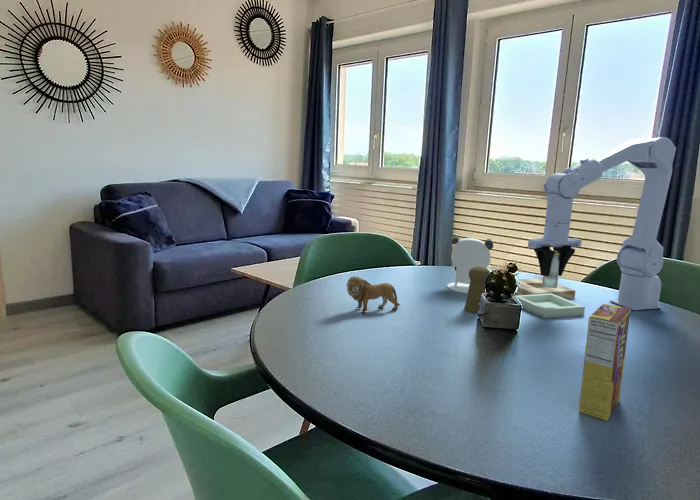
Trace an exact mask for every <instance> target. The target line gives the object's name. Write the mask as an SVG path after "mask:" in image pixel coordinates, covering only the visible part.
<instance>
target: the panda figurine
mask: <svg viewBox="0 0 700 500" xmlns="http://www.w3.org/2000/svg"><path fill="white" fill-rule="evenodd" d="M451 244H452V245H453V248H452V250H451V256H450V257H451V263H452V264H453V266H454V271H455V280H454V282H449V283H448V284H447V285H446V287H447V289H448V290H450V291H452V292H456V293H461V294H462V293H463V294H468V289H469V285H470V278H469V271H470V269H471V268H473V267H483V268H486V269H488V266H489V265H490V263H491V260H492V259H491V258H492V257H491V252H490V250H492V249H493V248H494V242H493V240H492V239H491V238H487V239H485V241H482V240H481V239H478V238H475V237H466V238H461V239H460V237H459V236H458V235H454V236H453V237H452V239H451Z"/></svg>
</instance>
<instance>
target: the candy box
mask: <svg viewBox="0 0 700 500" xmlns="http://www.w3.org/2000/svg"><path fill="white" fill-rule="evenodd" d="M631 310H632V309H630V308H626V307H623V306H621V305H619V306H618V305H614V304H605V303H603V304H601V305H600V306H599V307H598V308H597V309H596V310H595V311H594V312H593V313H592V314H591V315H590V316H589V317H588V323H587V334H586V344H585V351H584V361H583V369H582V376H581V377H582V378H581V386H580V388H581V389H580V396H579V405H578V412H579V413H580V414H584V415H585V416H589V417H592V418H596V419H598V420H602V421H604V422H608V420H609V419H610V417H611V415H612V414H613V412H614V411H615V408H616V406H617V405H618V404H619V401H620V400H621V391H622V390H621V389H622V384H623V383H622V382H623V375H624V367H625V360H626V350H627V342H628V333H629V324H630V317H631V316H630V315H631Z"/></svg>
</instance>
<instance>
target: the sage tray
mask: <svg viewBox="0 0 700 500" xmlns="http://www.w3.org/2000/svg"><path fill="white" fill-rule="evenodd" d="M515 296H516V297H517V298H518V299H519V301H520V302H521V304H522V307H523V308H522V309H524V310H526V311H527V312H529V313H531V314H534V315H536V316H538V317H540V318H542V319H551V318H552V319H553V318H554V319H555V318H564V317H565V318H566V317H576V316H577V317H579V316H584V315H585V311H586V310H585V309H586V306H584V305H581V304H580V303H576V302H575V301H572V300H569V299H564V298H562V297H559V296H557V295H554V294H552V293H548V294H532V295H518V294H516V295H515Z"/></svg>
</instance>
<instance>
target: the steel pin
mask: <svg viewBox="0 0 700 500" xmlns="http://www.w3.org/2000/svg"><path fill="white" fill-rule="evenodd" d="M560 257H561V252H559V251H555V254H554V256H553V259H552V262H551V267H550V273H549V276H547V277H546V276H543V275H542V277H543V283H542V286H543V287H547V288H557V284H558V281H559V275H558V274H559V265H560Z"/></svg>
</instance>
